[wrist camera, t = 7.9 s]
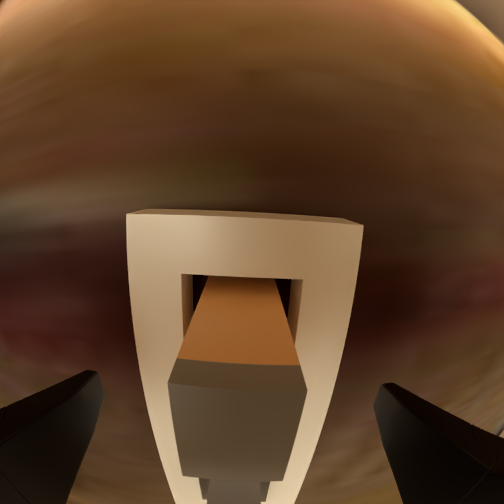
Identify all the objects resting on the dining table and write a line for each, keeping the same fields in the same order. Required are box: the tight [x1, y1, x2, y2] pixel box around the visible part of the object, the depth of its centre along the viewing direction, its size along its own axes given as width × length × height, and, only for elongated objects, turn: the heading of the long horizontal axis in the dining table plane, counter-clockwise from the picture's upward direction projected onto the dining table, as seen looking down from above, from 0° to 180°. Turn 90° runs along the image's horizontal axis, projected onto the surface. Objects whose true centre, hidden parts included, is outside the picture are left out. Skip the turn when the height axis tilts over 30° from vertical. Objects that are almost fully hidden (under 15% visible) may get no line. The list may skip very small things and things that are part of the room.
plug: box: [167, 275, 308, 481], centre depth 10 cm, size 4×3×8 cm
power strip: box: [126, 209, 364, 504], centre depth 15 cm, size 32×9×3 cm, turn 177°
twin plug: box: [207, 479, 261, 504], centre depth 12 cm, size 4×3×8 cm
